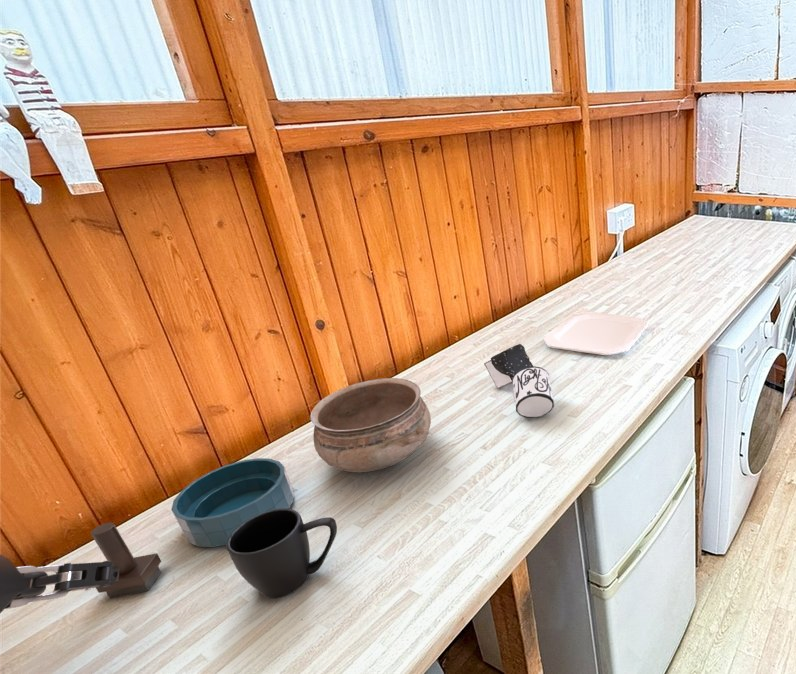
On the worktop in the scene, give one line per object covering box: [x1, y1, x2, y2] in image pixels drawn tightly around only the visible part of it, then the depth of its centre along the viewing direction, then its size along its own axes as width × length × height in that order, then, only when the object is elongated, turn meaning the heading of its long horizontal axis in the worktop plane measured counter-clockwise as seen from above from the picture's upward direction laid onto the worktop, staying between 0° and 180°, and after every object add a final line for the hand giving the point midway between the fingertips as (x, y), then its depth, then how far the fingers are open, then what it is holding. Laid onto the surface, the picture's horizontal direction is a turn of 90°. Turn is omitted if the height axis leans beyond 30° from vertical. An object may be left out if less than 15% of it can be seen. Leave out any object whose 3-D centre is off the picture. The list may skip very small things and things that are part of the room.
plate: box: [542, 310, 649, 356], centre depth 145 cm, size 25×25×2 cm
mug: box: [225, 508, 338, 599], centre depth 71 cm, size 8×12×10 cm
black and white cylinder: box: [483, 343, 555, 419], centre depth 114 cm, size 25×10×10 cm, turn 34°
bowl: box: [171, 457, 295, 548], centre depth 82 cm, size 14×14×6 cm
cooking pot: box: [310, 377, 432, 473], centre depth 94 cm, size 25×19×12 cm
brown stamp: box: [90, 522, 162, 599], centre depth 70 cm, size 5×4×10 cm
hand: (71, 584), depth 62 cm, fingers open, 8 cm apart
